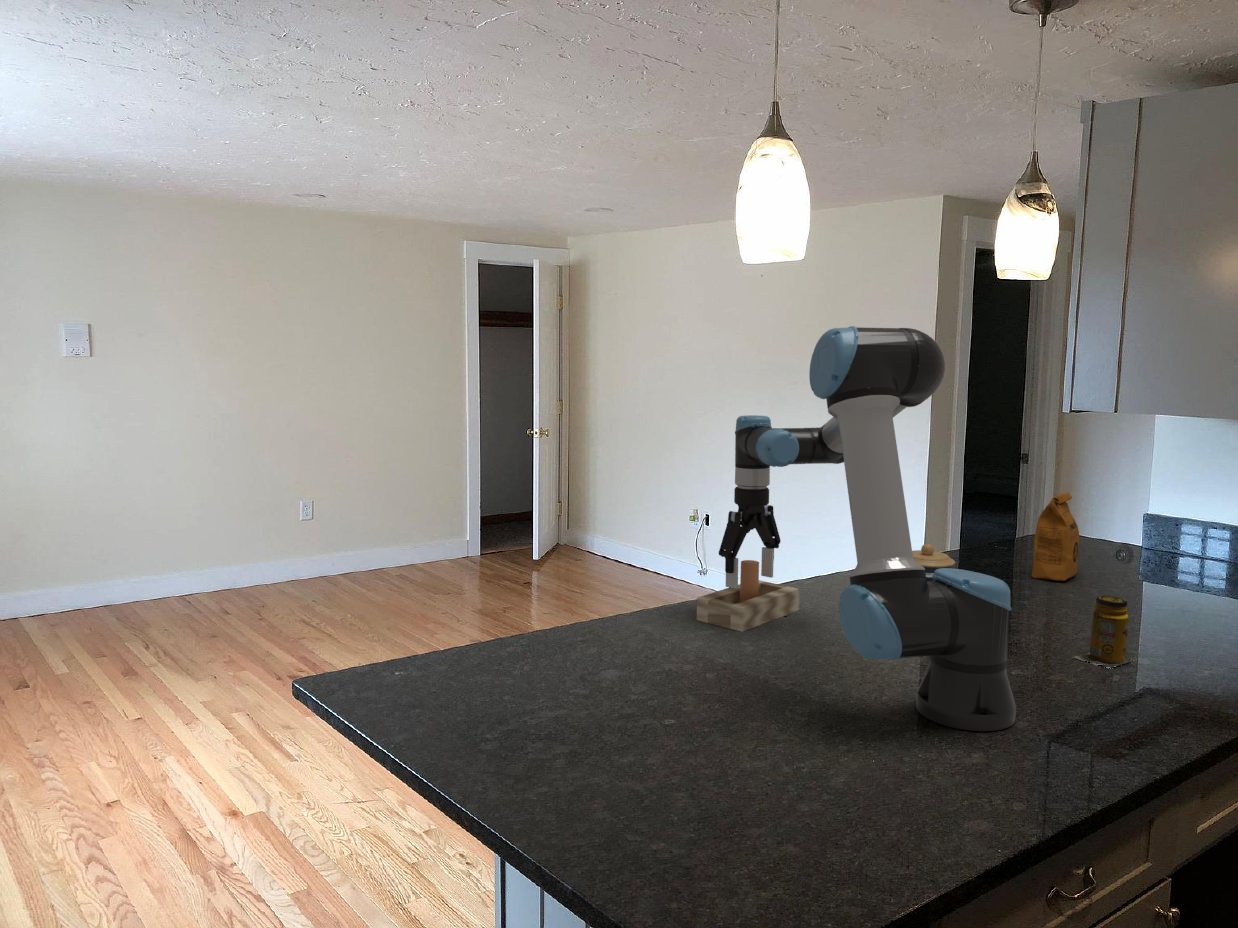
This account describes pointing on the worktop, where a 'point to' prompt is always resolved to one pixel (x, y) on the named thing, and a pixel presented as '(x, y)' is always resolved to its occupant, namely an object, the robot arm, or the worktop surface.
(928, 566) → the canister
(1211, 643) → the worktop surface
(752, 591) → the peg
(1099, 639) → the condiment
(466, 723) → the worktop surface
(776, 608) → the socket block
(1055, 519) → the coffee package
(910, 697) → the worktop surface
